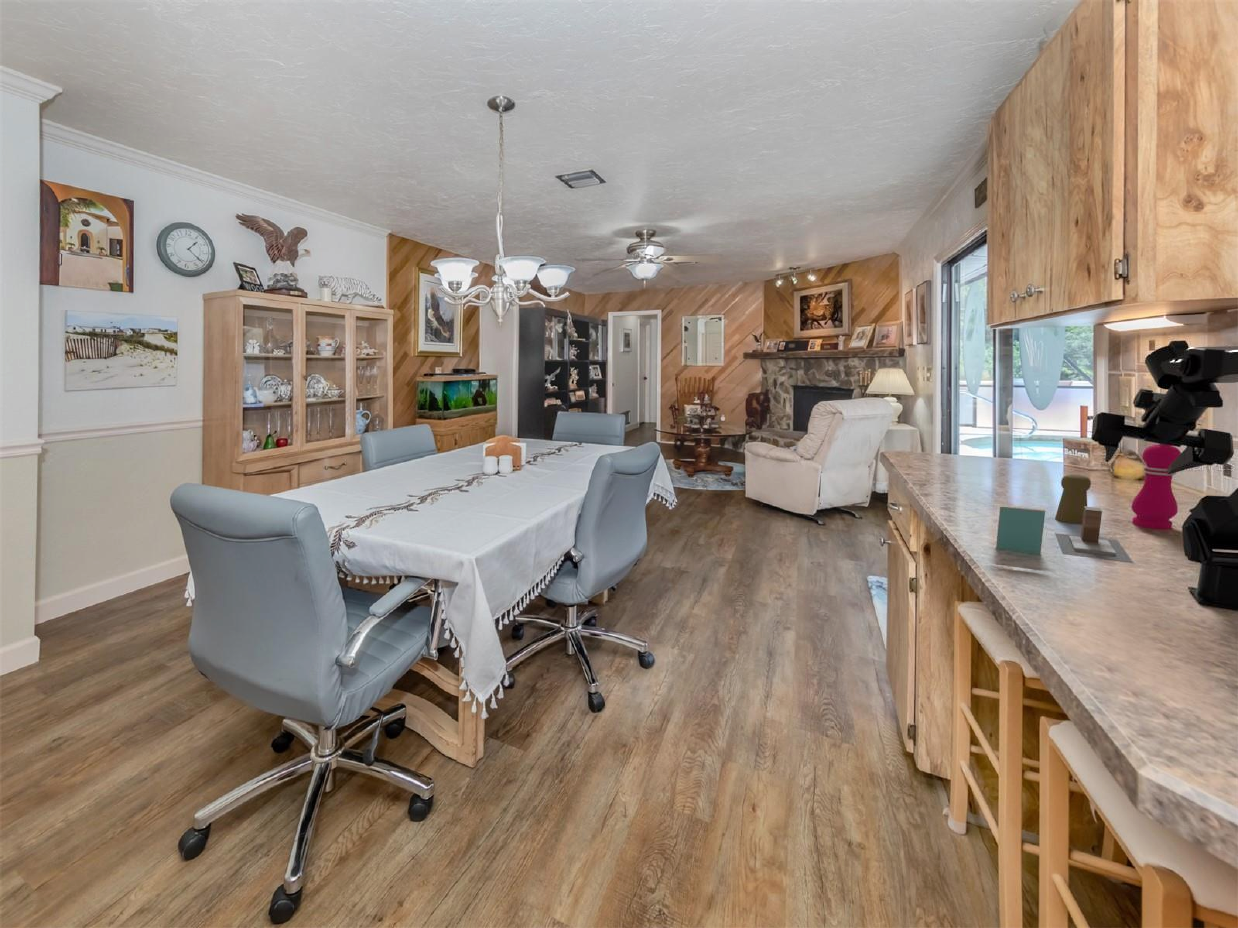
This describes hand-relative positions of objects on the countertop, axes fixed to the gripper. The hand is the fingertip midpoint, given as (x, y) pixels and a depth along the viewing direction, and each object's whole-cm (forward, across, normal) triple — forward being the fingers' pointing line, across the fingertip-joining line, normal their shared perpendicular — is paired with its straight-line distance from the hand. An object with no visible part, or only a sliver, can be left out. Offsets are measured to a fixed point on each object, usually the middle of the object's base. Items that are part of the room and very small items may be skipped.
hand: (1136, 466), depth 106 cm
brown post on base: (+10, +3, +14) cm, 17 cm away
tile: (+7, +15, +22) cm, 28 cm away
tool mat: (+11, +3, +14) cm, 18 cm away
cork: (+24, +3, -2) cm, 24 cm away
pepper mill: (+24, -11, -6) cm, 27 cm away
